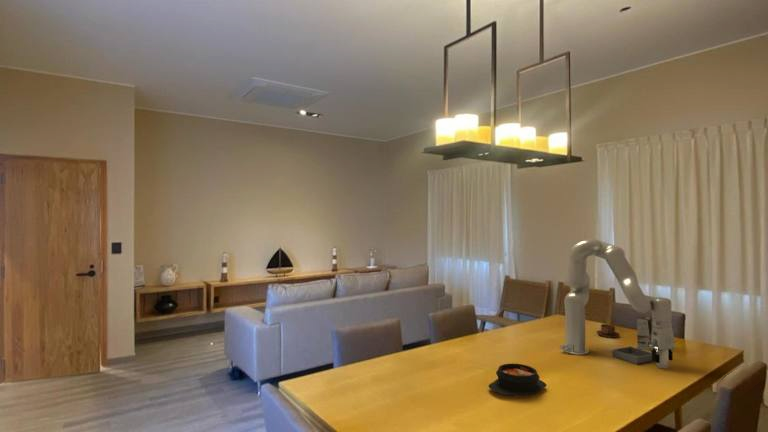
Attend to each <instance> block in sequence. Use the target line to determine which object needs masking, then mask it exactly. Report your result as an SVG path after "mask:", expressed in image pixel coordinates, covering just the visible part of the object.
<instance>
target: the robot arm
mask: <svg viewBox="0 0 768 432" xmlns="http://www.w3.org/2000/svg"><path fill="white" fill-rule="evenodd" d="M591 256H594V257H598V258H600V259H604V260H605V261H606V263H607V265H608V267H609V269H611V271H612V274H613V275H614V277H615V278H616V280H617V282H618V284H619V286H620V288H621V289H622V292H623V294H624V296H625V297H626V299H627V301H628V302H629V304H630V306H631V307H632V309H633V310H634V311H635V312H636V313H638V314H643V315H644V314H647V313H648V312H649V311H651V312H652V313H651V314H652V315H651V317H652V338H651V343H650V345H649V348H650V350H649V351H650V353H652V361H653V362H652V363H655V364H656V363H660V355H659V351H660V350H667V349H668V350H669V361H674V360H673V352H674V347H675V343H676V341H675V335H674V331H673V327H672V301H671V299H670V298H668V297H661V296H660V297H659V296H650V295H647V294H646V295H645V293H644V292H643V291H642V288H641V286H640V284H639V281H638V277H637V275H636V273H635V270H634V269H633V267H632V266H631V264H630V263H629V261H628V259H627V258H626V254H625V251H624V249H623V248H622V247H620V246H617V245H614V244H612V243H611V244H610V243H608V242H605V241H602V240H599V239H596V238H588V239H584V240H581V241H579V242H577V243H575V244H574V245H573V246H572V248H571V249H570V251H569V257H568V267H567V268H568V270H567V279H566V280H567V284H568V286H569V287H570V289H569V290H570V291H569V292H568V293H567V294H566V295H565V297H564V299H563V302H564V304H563V305H564V312H565V315H564V316H565V318H564V320H565V342H564V343H563V344H562V345H559V346H558V348H559V350H562V351H563V352H564V353H567V354H571V355H578V356H579V355H580V356H584V355H588V354H589V352H590V351H589V349H588V348H586V312H585V310H586V309H585V306H587V303H588V302H589V299H590V285H591V278H590V274H589V273H588V272H587V260H588V257H591ZM656 349H657V351H656Z"/></svg>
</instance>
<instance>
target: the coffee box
mask: <svg viewBox="0 0 768 432" xmlns="http://www.w3.org/2000/svg"><path fill="white" fill-rule="evenodd" d="M636 321H637V324H636V326H637V327H636V329H637V330H636V332H637V333H636V334H637V335H636V337H637V338H636V339H637V341H636V342H637V343H636V346H637V349H640V350H643V351H650V348H649V345H650V343H651V338H652V328H653V321H652V316H644V315H638V317H637V319H636Z"/></svg>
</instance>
